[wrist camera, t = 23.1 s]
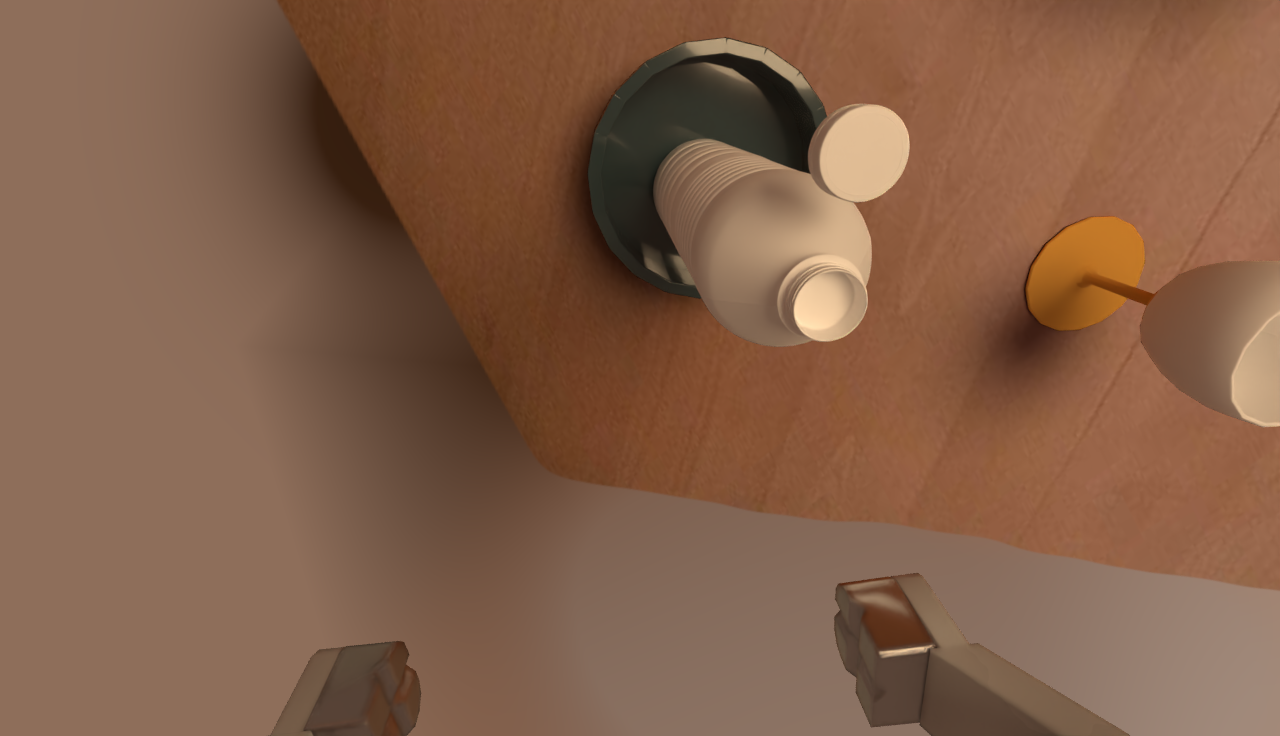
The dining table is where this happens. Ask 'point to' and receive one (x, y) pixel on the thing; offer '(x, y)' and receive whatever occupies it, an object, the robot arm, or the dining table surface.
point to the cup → (1172, 314)
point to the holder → (690, 138)
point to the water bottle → (783, 226)
